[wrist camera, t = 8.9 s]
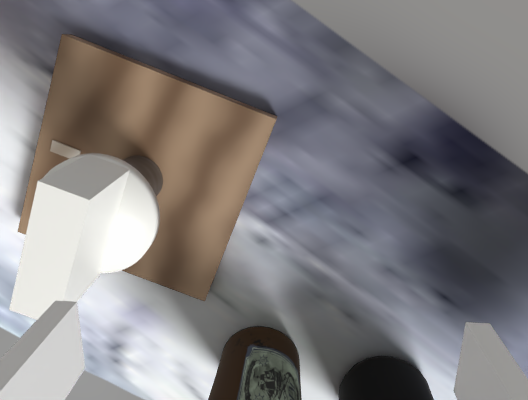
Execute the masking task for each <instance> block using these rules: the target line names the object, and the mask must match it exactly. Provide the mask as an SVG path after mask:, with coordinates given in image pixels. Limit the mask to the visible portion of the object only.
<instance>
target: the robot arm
mask: <svg viewBox="0 0 528 400" xmlns="http://www.w3.org/2000/svg"><path fill="white" fill-rule="evenodd" d="M84 369H85V363H84V355H83V347H82V338H81V330H80V322H79V314H78V306H77V302H73V301H55V302H54V303H53V304H52V305H51V306H50V307H49V308H48V309H47V310H46V311H45V312H44V313H43V314H42V315H41V316H40V317H39V319H38V320H37V321H36V322H35V323H34V324H33V325H32V326H31V327H30V328H29V329H28V330H27V331H26V332H25V333H24V334H23V336H22V337H21V338H20V339H19V340H18V341H17V342H16V343H15V344H14V345H13V346H12V348H10V349H9V350H8V351H7V353H6V354H5V355H4V356H3V357H2V358H1V359H0V400H65V398H66V397H67V395H68V394H69V392H70V391H71V389H72V388H73V386H74V384H75V383H76V382H77V380H78V378H79V377H80V375H81V374H82V372H83V371H84ZM454 393H455V395H456V397H457V400H528V379H527V378H526V376H525V375H524V373H523V372H522V370H521V369H520V367H519V366H518V364H517V363H516V361H515V360H514V358H513V357H512V355H511V354H510V353H509V351H508V350H507V348H506V347H505V345H504V344H503V342H502V341H501V339H500V338H499V336H498V335H497V333H496V332H495V330H494V329H493V328H492V326H491V325H490V323H471V322H466V324H465V330H464V336H463V341H462V347H461V353H460V358H459V364H458V370H457V375H456V381H455V387H454Z"/></svg>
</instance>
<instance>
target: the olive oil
mask: <svg viewBox="0 0 528 400" xmlns="http://www.w3.org/2000/svg"><path fill="white" fill-rule="evenodd" d="M208 400H301V385H300V363H299V355H298V351H297V349H296V347H295V345H294V344H293V342H292V341H291V340H290V339H289V338H288V337H287V336H286V335H284V334H283V333H281V332H279V331H277V330H275V329H272V328H268V327H250V328H246V329H243V330H241V331H239V332H237V333H236V334H234V335H233V336H232V337H231V338H230V339H229V340H228V342H227V343H226V345H225V347H224V350H223V353H222V356H221V360H220V363H219V367H218V370H217V373H216V377H215V380H214V383H213V386H212V389H211V393H210V396H209V399H208Z"/></svg>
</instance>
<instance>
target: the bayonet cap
mask: <svg viewBox="0 0 528 400" xmlns="http://www.w3.org/2000/svg"><path fill="white" fill-rule="evenodd" d="M159 223H160V210H159V205H158V201H157V198H156V195H155V193H154V191H153V189H152V187H151V186H150V184H149V182H148V181H147V180H146V179H145V177H144V176H143V175H142V174H141V173H140V172H139V171H138V170H137V169H135V168H134V167H133V166H132V165H130V164H128V163H127V162H125V161H123V160H121V159H119V158H117V157H113V156H110V155H106V154H100V153H88V154H82V155H77V156H75V157H72V158H70V159H68V160H66V161H64V162H62V163H60V164H58V165H57V166H55V167H54V168H52V169H51V170H50V171H49V172H48V173H47V174H46V175H45V176H44V177H43V178H42V179H40V180H38V182H37V187H36V191H35V196H34V200H33V205H32V209H31V214H30V218H29V223H28V227H27V232H26V236H25V241H24V245H23V250H22V254H21V259H20V264H19V268H18V273H17V277H16V282H15V286H14V291H13V295H12V300H11V304H10V309H9V310H11V311H14V312H17V313H19V314H22V315H25V316H28V317H31V318H33V319H36V320H38V319H39V317H40V316H41V315H42V314H43V313H44V312H45V311H46V310H47V309H48V308H49V307H50V306H51V305H52V304H53V303H54V302H55V301H73V302H78V300H79V299H80V298H81V297H82V296H83V295H84V293H85V292H86V291H87V290H88V289H89V288H90V286H91V285H92V284H93V283H94V282H95V281H96V279H97V278H98V277H99V275H100V273H112V272H117V271H120V270H123V269H126V268H128V267H130V266H132V265H133V264H135V263H136V262H137V261H138V260H139V259H141V258H142V256H143V255H144V254H145V253H146V251H147V250H148V249H149V247H150V246H151V245H152V243H153V241H154V239H155V237H156V235H157V232H158V229H159Z"/></svg>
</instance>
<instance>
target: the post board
mask: <svg viewBox="0 0 528 400" xmlns="http://www.w3.org/2000/svg"><path fill="white" fill-rule="evenodd" d="M276 119H277V116H275V115H272V114H270V113H267V112H265V111H262V110H260V109H257V108H255V107H252V106H250V105H247V104H245V103H242V102H240V101H237V100H235V99H232V98H230V97H227V96H225V95H222V94H220V93H217V92H215V91H212V90H210V89H207V88H205V87H202V86H200V85H197V84H195V83H192V82H190V81H187V80H184V79H182V78H179V77H177V76H174V75H172V74H169V73H167V72H164V71H162V70H159V69H157V68H154V67H152V66H149V65H147V64H144V63H142V62H139V61H137V60H134V59H132V58H129V57H127V56H124V55H122V54H119V53H117V52H114V51H112V50H109V49H107V48H104V47H102V46H99V45H97V44H94V43H92V42H89V41H87V40H84V39H82V38H79V37H76V36H74V35H71V34H62V36H61V40H60V45H59V49H58V54H57V58H56V63H55V67H54V72H53V76H52V81H51V85H50V89H49V94H48V98H47V103H46V107H45V112H44V116H43V121H42V125H41V130H40V134H39V139H38V143H37V148H36V152H35V156H34V161H33V165H32V170H31V174H30V179H29V183H28V188H27V192H26V197H25V201H24V206H23V210H22V215H21V219H20V223H19V228H18V232H20V233H23V234H25V235H26V232H27V227H28V223H29V218H30V214H31V209H32V205H33V200H34V196H35V191H36V187H37V182H38V180H40V179H42V178H43V177H44V176H45V175H46V174H47V173H48V172H49V171H50V170H51V169H52V168H54V167H55V166H57V165H58V164H60V163H62V162H64V161H66V160H68V159H70V158H72V157H75V156H77V155H82V154H88V153H100V154H106V155H110V156H113V157H117V158H119V159H121V160H123V161H125V162H127V163H128V164H130V165H132V166H133V167H134V168H135V169H137V170H138V171H139V172H140V173H141V174H142V175H143V176H144V177H145V179H146V180H147V181H148V182H149V184H150V186H151V187H152V189H153V191H154V193H155V195H156V198H157V201H158V205H159V210H160V223H159V229H158V232H157V235H156V237H155V239H154V241H153V243H152V245H151V246H150V247H149V249H148V250H147V251H146V253H145V254H144V255H143V256H142V258H141V259H139V260H138V261H137V262H136V263H135V264H133V265H132V266H130V267H128V268H126V269H123V270H122V271H125V272H127V273H130V274H133V275H135V276H138V277H141V278H143V279H146V280H149V281H151V282H154V283H157V284H160V285H162V286H165V287H168V288H170V289H173V290H176V291H178V292H181V293H184V294H186V295H189V296H192V297H194V298H197V299H200V300H202V301H205V300H206V297H207V294H208V292H209V289H210V287H211V284H212V282H213V279H214V277H215V274H216V272H217V269H218V267H219V264H220V261H221V259H222V256H223V254H224V251H225V249H226V246H227V244H228V241H229V239H230V236H231V233H232V231H233V228H234V226H235V223H236V221H237V218H238V216H239V213H240V211H241V208H242V205H243V203H244V200H245V198H246V195H247V193H248V190H249V188H250V185H251V183H252V180H253V177H254V175H255V172H256V170H257V167H258V165H259V162H260V160H261V157H262V155H263V152H264V150H265V147H266V144H267V142H268V139H269V137H270V134H271V132H272V129H273V127H274V124H275V122H276Z"/></svg>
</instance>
